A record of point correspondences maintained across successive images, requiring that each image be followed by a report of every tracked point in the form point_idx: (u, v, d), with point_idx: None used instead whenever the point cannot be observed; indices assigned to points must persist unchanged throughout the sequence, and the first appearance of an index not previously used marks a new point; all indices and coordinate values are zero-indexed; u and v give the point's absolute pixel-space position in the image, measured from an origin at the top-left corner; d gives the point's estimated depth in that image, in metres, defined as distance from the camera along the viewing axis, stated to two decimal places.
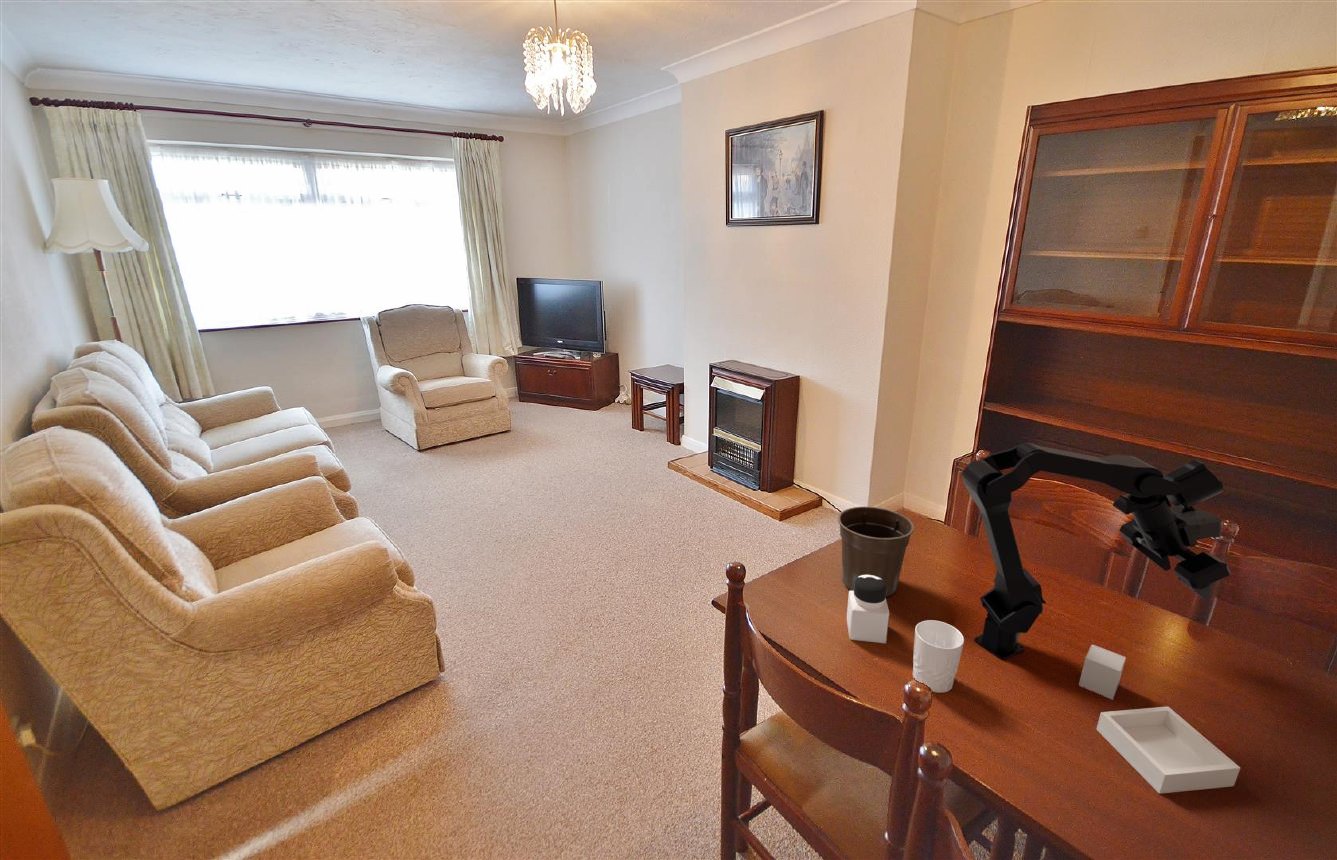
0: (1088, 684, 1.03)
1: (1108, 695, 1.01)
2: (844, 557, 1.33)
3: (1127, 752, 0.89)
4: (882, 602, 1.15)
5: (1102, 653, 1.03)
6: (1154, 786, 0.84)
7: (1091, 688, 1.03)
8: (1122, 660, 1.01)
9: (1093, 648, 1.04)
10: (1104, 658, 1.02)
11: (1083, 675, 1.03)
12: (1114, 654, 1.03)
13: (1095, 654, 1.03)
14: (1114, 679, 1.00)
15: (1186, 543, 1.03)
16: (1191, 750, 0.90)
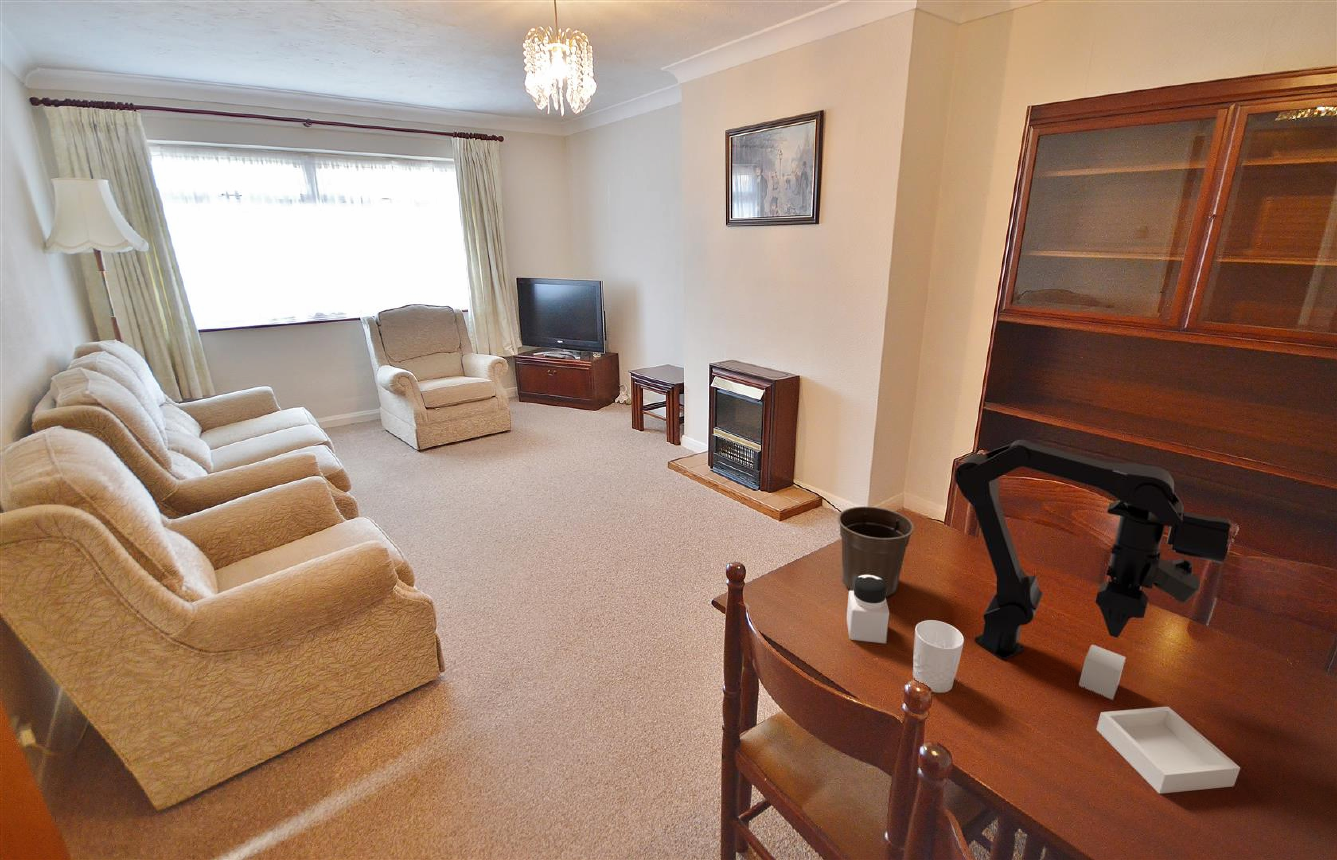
0: (1088, 684, 1.03)
1: (1108, 695, 1.01)
2: (844, 557, 1.33)
3: (1127, 752, 0.89)
4: (882, 602, 1.15)
5: (1102, 653, 1.03)
6: (1154, 786, 0.84)
7: (1091, 688, 1.03)
8: (1122, 660, 1.01)
9: (1093, 648, 1.04)
10: (1104, 658, 1.02)
11: (1083, 675, 1.03)
12: (1113, 654, 1.03)
13: (1095, 654, 1.03)
14: (1114, 679, 1.00)
15: (1141, 580, 0.94)
16: (1191, 750, 0.90)
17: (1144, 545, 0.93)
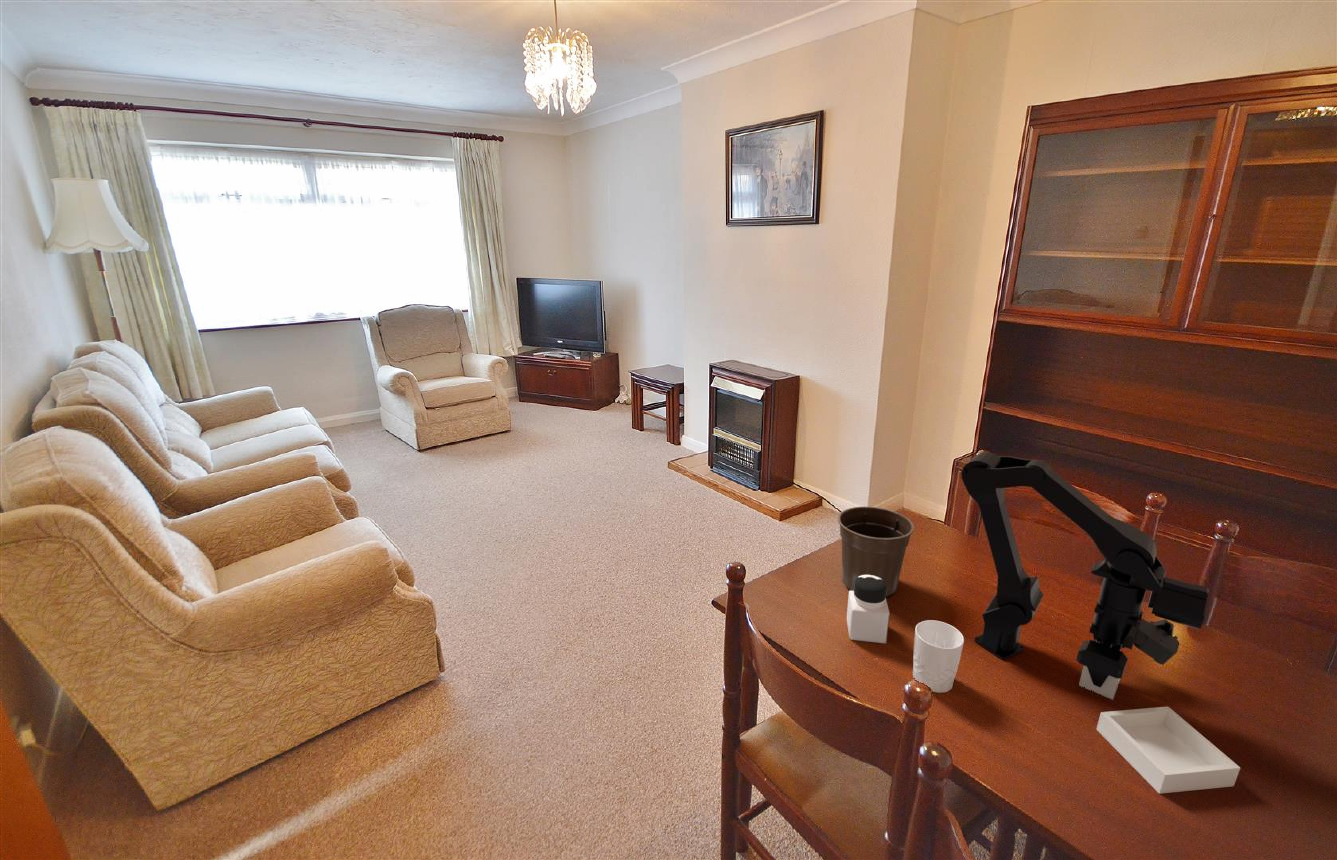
0: (1088, 684, 1.03)
1: (1108, 695, 1.01)
2: (844, 557, 1.33)
3: (1127, 752, 0.89)
4: (882, 602, 1.15)
5: None
6: (1154, 786, 0.84)
7: (1091, 688, 1.03)
8: None
9: None
10: None
11: (1083, 674, 1.03)
12: None
13: None
14: (1114, 679, 1.00)
15: (1122, 640, 0.98)
16: (1191, 750, 0.90)
17: (1125, 607, 0.96)
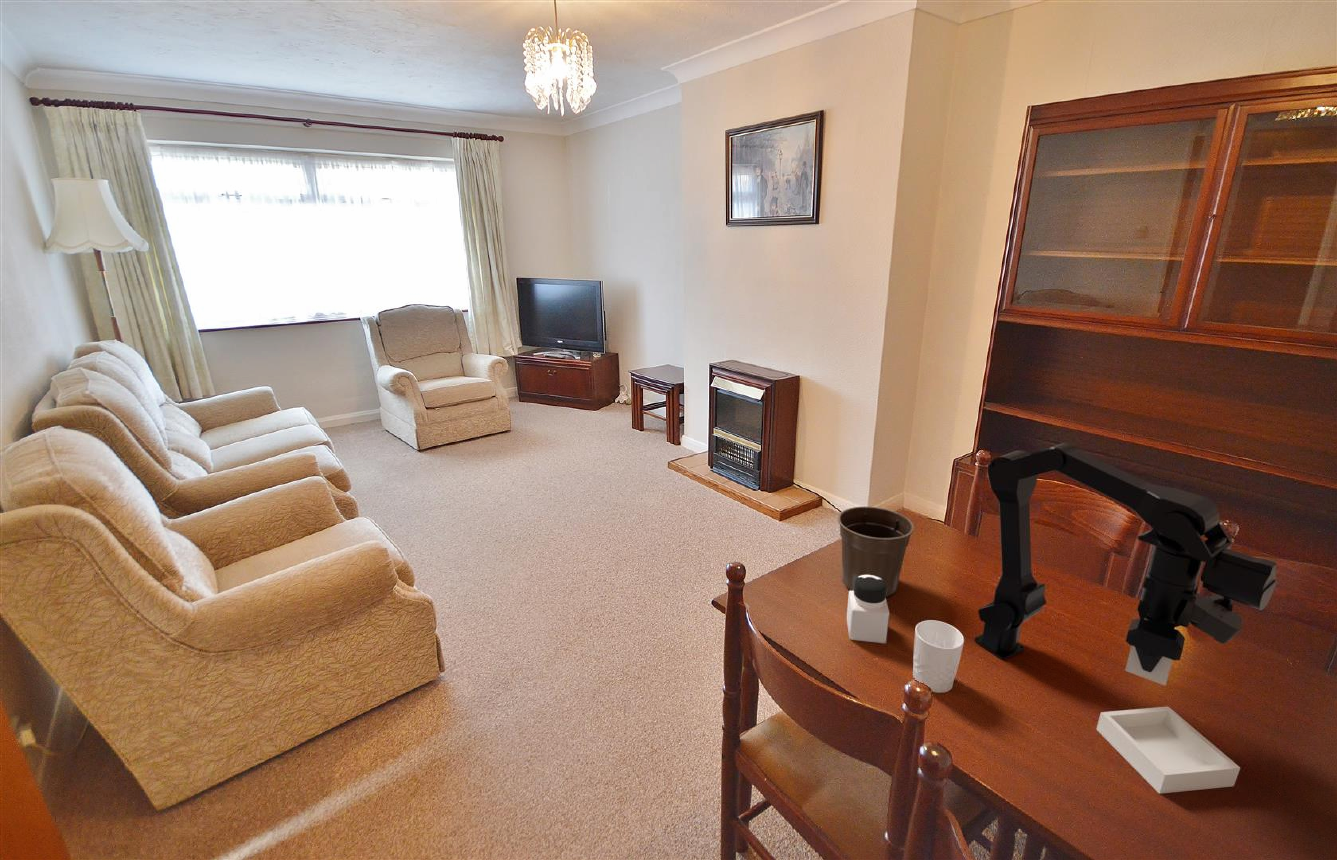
0: (1136, 669, 0.92)
1: (1160, 681, 0.90)
2: (844, 557, 1.33)
3: (1127, 752, 0.89)
4: (882, 602, 1.15)
5: None
6: (1154, 786, 0.84)
7: (1140, 673, 0.92)
8: None
9: None
10: None
11: (1131, 658, 0.92)
12: None
13: None
14: (1167, 662, 0.89)
15: (1176, 618, 0.87)
16: (1191, 750, 0.90)
17: (1173, 578, 0.86)
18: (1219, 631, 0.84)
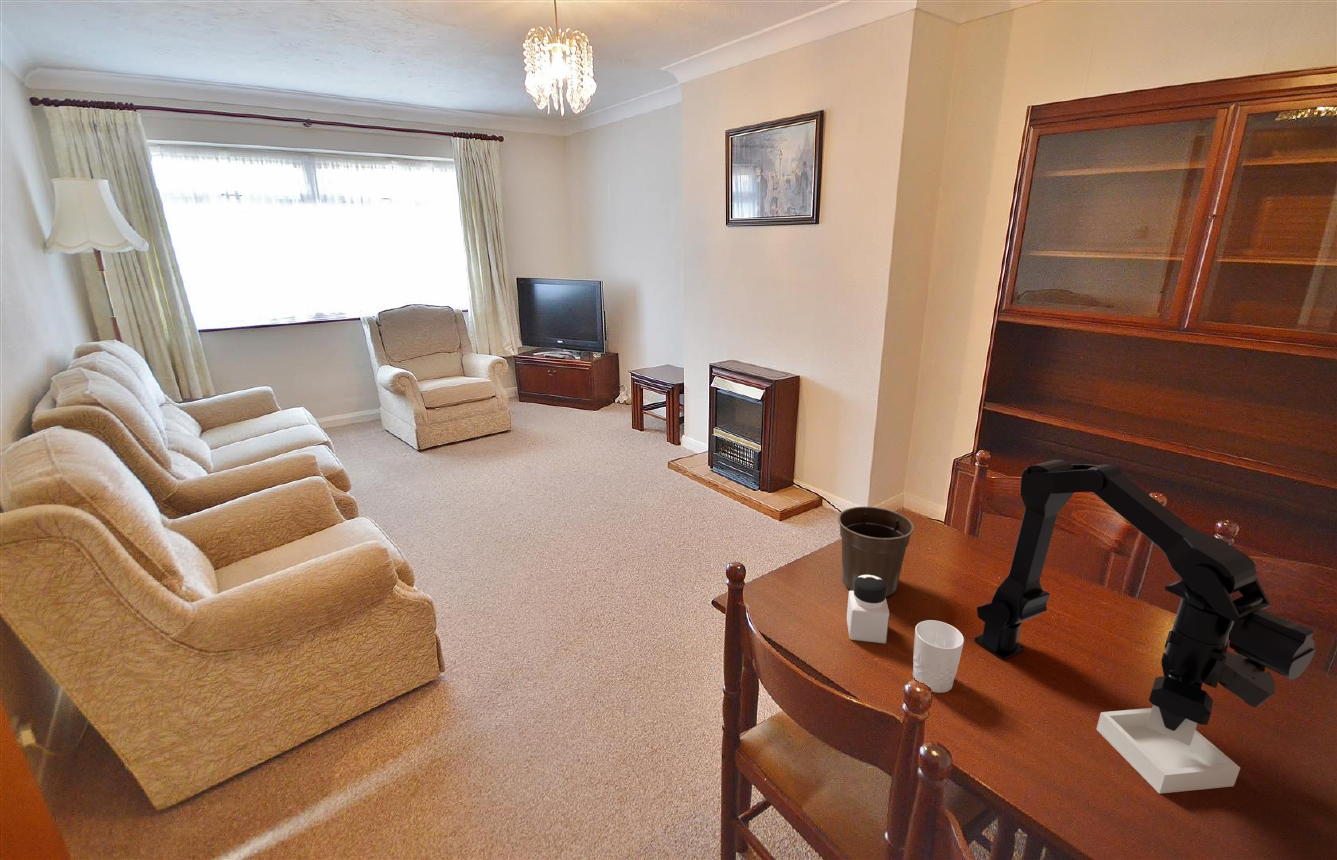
0: (1159, 726, 0.87)
1: (1184, 740, 0.85)
2: (844, 557, 1.33)
3: (1127, 752, 0.89)
4: (882, 602, 1.15)
5: None
6: (1154, 786, 0.84)
7: (1162, 731, 0.87)
8: None
9: None
10: None
11: (1153, 715, 0.87)
12: None
13: None
14: (1192, 722, 0.84)
15: (1204, 677, 0.82)
16: (1191, 750, 0.90)
17: (1198, 635, 0.81)
18: (1250, 694, 0.78)
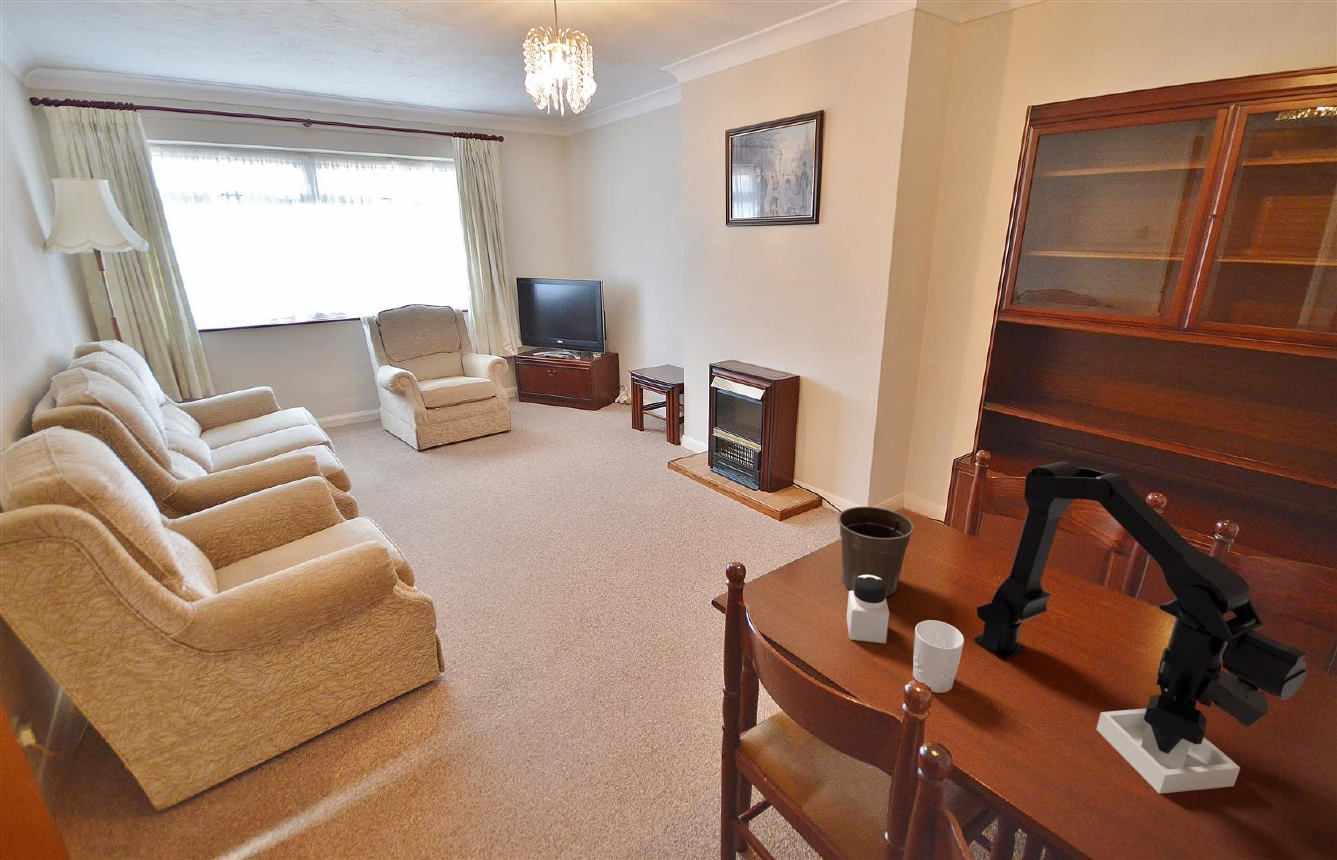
0: (1151, 753, 0.88)
1: (1176, 767, 0.87)
2: (844, 557, 1.33)
3: (1127, 752, 0.89)
4: (882, 602, 1.15)
5: None
6: (1154, 786, 0.84)
7: (1154, 757, 0.88)
8: None
9: None
10: None
11: (1145, 742, 0.89)
12: None
13: None
14: (1183, 749, 0.85)
15: (1198, 696, 0.83)
16: (1191, 750, 0.90)
17: (1192, 654, 0.82)
18: (1244, 713, 0.79)
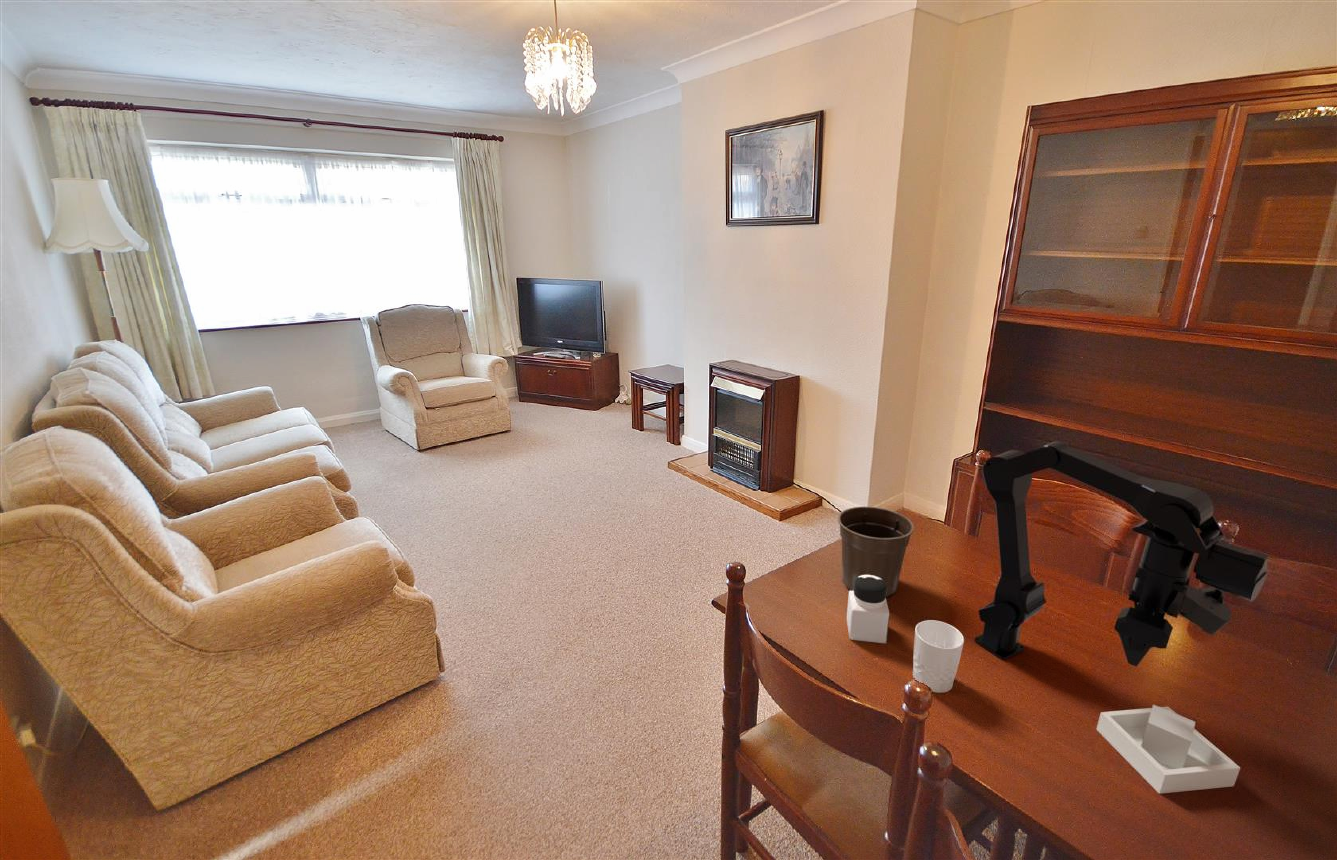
0: (1151, 753, 0.88)
1: (1176, 767, 0.87)
2: (844, 557, 1.33)
3: (1127, 752, 0.89)
4: (882, 602, 1.15)
5: (1167, 716, 0.89)
6: (1154, 786, 0.84)
7: (1154, 757, 0.88)
8: (1191, 726, 0.87)
9: (1155, 710, 0.90)
10: (1170, 723, 0.87)
11: (1145, 742, 0.89)
12: (1180, 717, 0.88)
13: (1159, 718, 0.88)
14: (1183, 749, 0.85)
15: (1166, 608, 0.88)
16: (1191, 750, 0.90)
17: (1166, 570, 0.87)
18: (1207, 622, 0.85)
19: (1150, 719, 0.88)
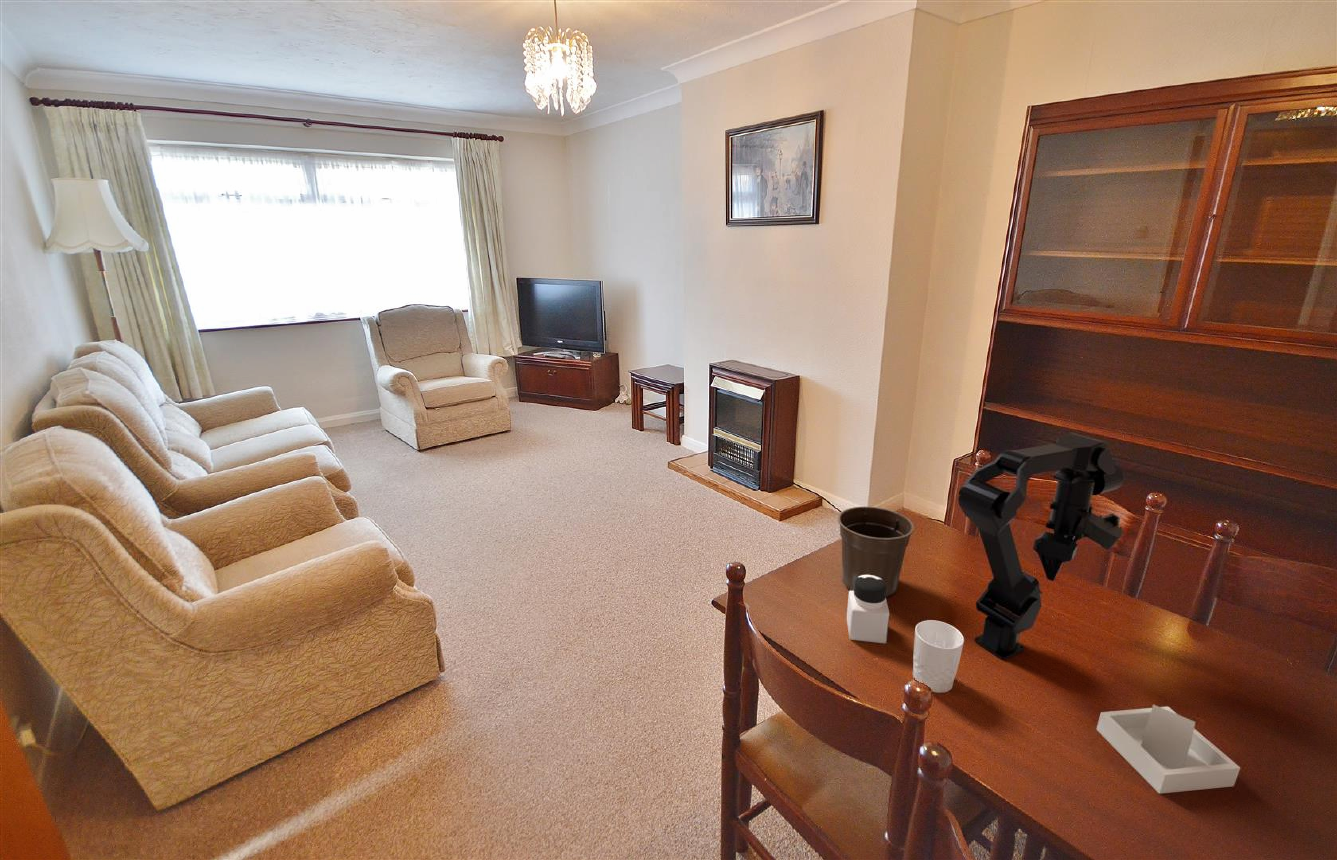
0: (1151, 753, 0.88)
1: (1176, 767, 0.87)
2: (844, 557, 1.33)
3: (1127, 752, 0.89)
4: (882, 602, 1.15)
5: (1167, 716, 0.89)
6: (1154, 786, 0.84)
7: (1154, 757, 0.88)
8: (1191, 726, 0.87)
9: (1155, 710, 0.90)
10: (1170, 723, 0.87)
11: (1145, 742, 0.89)
12: (1180, 717, 0.88)
13: (1159, 718, 0.88)
14: (1183, 749, 0.85)
15: (1074, 531, 1.10)
16: (1191, 750, 0.90)
17: (1090, 499, 1.09)
18: (1104, 539, 1.07)
19: (1150, 719, 0.88)
